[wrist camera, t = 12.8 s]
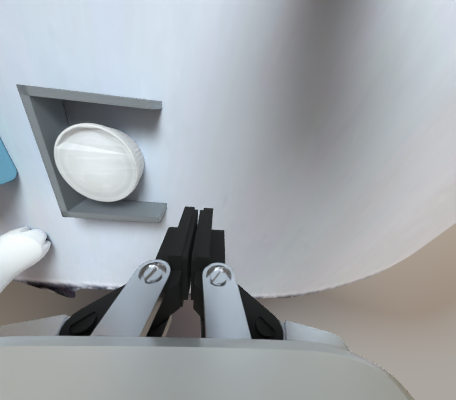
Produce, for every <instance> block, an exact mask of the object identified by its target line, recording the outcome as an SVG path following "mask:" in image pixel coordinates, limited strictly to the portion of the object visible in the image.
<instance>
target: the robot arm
mask: <svg viewBox="0 0 456 400" xmlns="http://www.w3.org/2000/svg"><path fill="white" fill-rule="evenodd" d="M212 216H213V208H204V210H200V215H199V220H198V210H195V208H194V207H185V208H184V211H183V214H182V217H181V220H180V223H179V226H178V228H177V227H169V228H168V230H167V233H166V235H165V238H164V240H163V242H162V245H161V247H160V250H159V252H158V254H157V257H156V259H155V260H150V261H147V262H145V263H143V264H142V265H140V266H139V268H138V269H137V270H136V271H135V273H134V274H133V275H132V277H131V278H130V280H129V281H128V283H127V284H125V285H123V286H122V287H120V288H118V289H116V290H115V291H113V292H111V293H109V294H107V295H106V296H104V297H102V298H100V299H98V300H97V301H95V302H93V303H91V304H89V305H88V306H86V307H84V308H82V309H80V310H79V311H77V312H76V313H74V314H73V315H72V316H70V317H67V316H66V315H60V316H54V317H48V318H43V319H37V320H32V321H26V322H21V323H15V324H10V325H5V326H1V327H0V400H414V398H413V397H412V396H411V395H410V393H409V392H408V391H407V390H406V389H405V388H404V387H403V385H402V384H401V383H400V382H399V381H398V380H397V379H396V378H395V377H393V376H392V375H391V374H390V373H388V372H387V371H386V370H385V369H383V368H382V367H380V366H378V365H377V364H375V363H373V362H371V361H370V360H368V359H366V358H364V357H362V356H360V355H358V354H355V353H353V352H351V351H350V350H349V348H348V346H347V345H346V344H345V342H344V341H343V340H342V339H341V338H339V337H338V336H337V335H335V334H333V333H330V332H327V331H324V330H320V329H316V328H312V327H309V326H305V325H302V324H298V323H294V322H291V321H287V320H286V321H285V322H281V321H279V320H278V319H277V318H276V317H275V316H274V315H273V314H272V313H270V312H269V311H268V310H267V309H266V308H265V307H264V306H262V305H261V304H260V303H259V302H258V301H257V300H255V299H254V298H253V297H252V296H251V295H250V294H248V293H247V292H246V291H245V290H244V289H243V288H241V287H240V286H239V285H238V284H237V281H236V277H235V273H234V271H233V269H232V268H231V267H230V266H228V265H226V264H225V241H224V230H211V229H212ZM197 222H198V225H197ZM190 284H191V300H194V305H193V307H194V310H195V311H196V312H197V313H198V314H199V315H200V330H201V338H172V337H170V338H169V337H165V336H166V333H167V331H168V328H169V326H170V323H171V320H172V317H173V313H174V312H175V311H177V310H178V309H179V308H180V307H182V306H183V301H184V300H188V295H189V289H190Z"/></svg>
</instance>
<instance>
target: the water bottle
mask: <svg viewBox="0 0 456 400" xmlns="http://www.w3.org/2000/svg"><path fill="white" fill-rule="evenodd" d="M46 238H47V235H46V233H45V232H43V231H42V230H39V229H33V230H30V228H29V227H22V228H18V229H14V230H11V231H9V232H7V233H5V234H3V235H1V236H0V293H1V292H2V290H3V289H4V288H5V287H6V286H7V285H8V284H9V283H10V282H11V281H12V280H13V279H14V278H15V277H16V276H17V275H19V274H20V273H21V272H23V271H24V270H26V269H28V268H29V267H31V266H33V265H34V264H36V263H37V262H38V261H39V260H41V259H42V258H43V257H44V256H45V255H46V253H47V252H48V250H49V248H50V246H51V242H50V241H45V240H46Z"/></svg>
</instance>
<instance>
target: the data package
mask: <svg viewBox="0 0 456 400" xmlns="http://www.w3.org/2000/svg"><path fill="white" fill-rule="evenodd" d="M16 175H17V170H16V168H15V166H14V164H13V162H12V160H11V158H10V156H9V154H8V152H7V150H6V148H5V146H4V144H3V143H2V141H1V139H0V185H1V184H4V183H7V182H10V181H12V180H13V179H15V177H16Z"/></svg>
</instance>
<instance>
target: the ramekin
mask: <svg viewBox="0 0 456 400" xmlns="http://www.w3.org/2000/svg"><path fill="white" fill-rule="evenodd" d="M54 159H55V163H56V166H57V168H58V170H59V172H60V174H61V175H62V177H63V178H64V180H65V181H66V182H67V183H68V184H69V185H70V186H71V187H72V188H73V189H75V190H76V191H77V192H79V193H80V194H82V195H84V196H86V197H88V198H90V199H93V200H97V201H103V202H113V201H118V200H121V199H123V198H125V197H127V196H128V195H129V194H131V193H132V192H133V191H134V189H135V188H136V187H137V185H138V182H139V179H140V177H141V176H142V173H143V170H144V159H143V155H142V152H141V150H140V148H139V147H138V145H137V144H136V143H135V141H133V139H132V138H130V137H129V136H128V135H127V134H125V133H124V132H122V131H120V130H117V129H114V128H110V127H106V126H103V125H99V124H94V123H80V124H75V125H72V126H70V127H68V128H66V129H65V130H64V131H62V132H61V133H60V135H59V136H58V137H57V139H56V142H55V146H54Z"/></svg>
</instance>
